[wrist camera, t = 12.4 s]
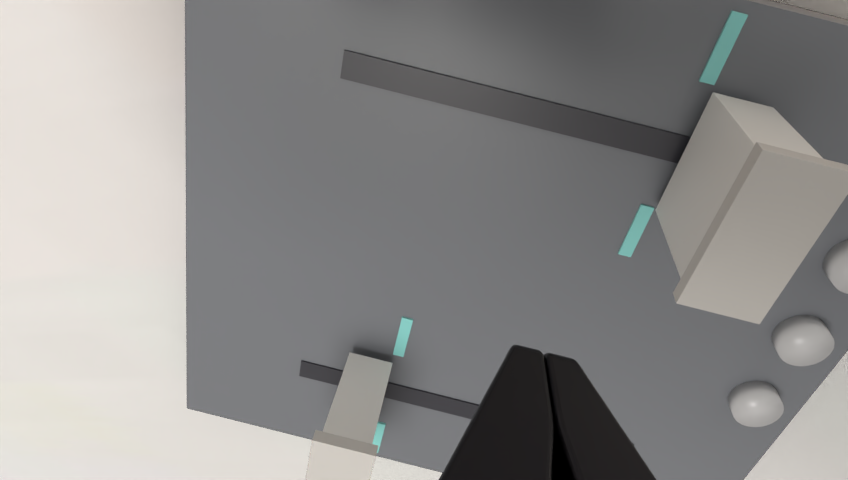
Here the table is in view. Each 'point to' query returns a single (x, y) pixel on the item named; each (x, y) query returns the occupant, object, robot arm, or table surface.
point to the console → (492, 213)
